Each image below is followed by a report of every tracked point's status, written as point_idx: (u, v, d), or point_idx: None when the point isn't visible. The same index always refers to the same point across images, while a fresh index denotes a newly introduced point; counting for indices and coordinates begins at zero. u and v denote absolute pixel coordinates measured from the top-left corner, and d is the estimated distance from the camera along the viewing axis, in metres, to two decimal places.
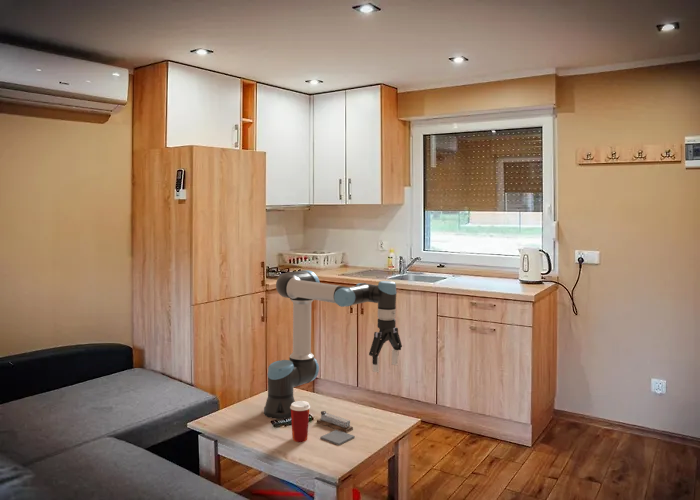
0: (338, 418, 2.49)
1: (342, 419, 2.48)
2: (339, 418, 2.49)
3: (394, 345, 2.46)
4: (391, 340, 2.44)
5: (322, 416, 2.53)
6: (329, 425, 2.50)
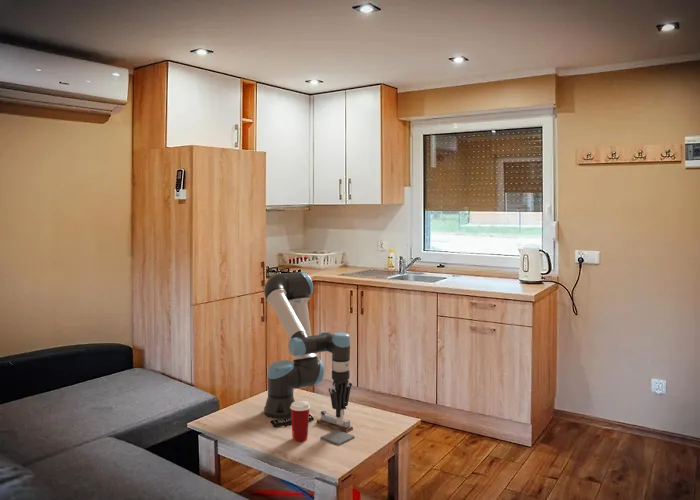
0: None
1: None
2: None
3: (342, 401, 2.46)
4: None
5: (322, 416, 2.53)
6: (329, 425, 2.50)
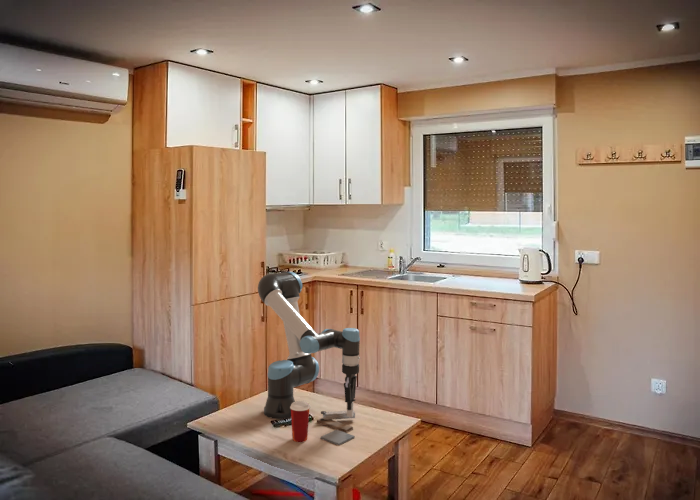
0: (343, 412, 2.57)
1: None
2: (343, 411, 2.57)
3: None
4: None
5: (325, 416, 2.54)
6: (329, 425, 2.50)
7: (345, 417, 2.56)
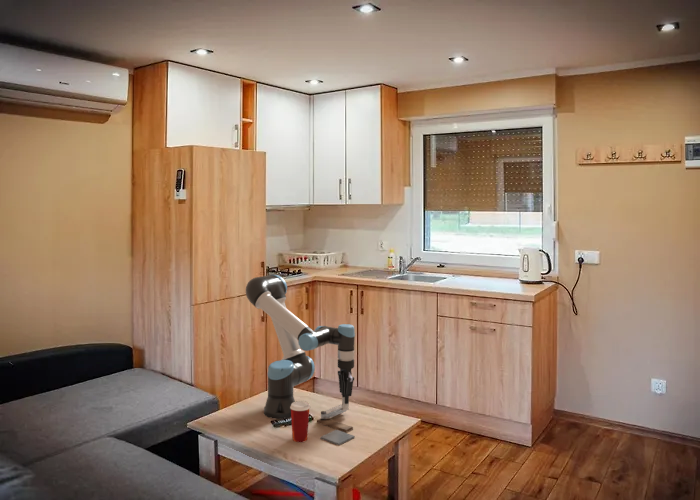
0: (337, 408, 2.62)
1: (339, 406, 2.63)
2: (337, 407, 2.62)
3: None
4: None
5: (327, 415, 2.55)
6: (329, 425, 2.50)
7: (340, 412, 2.62)
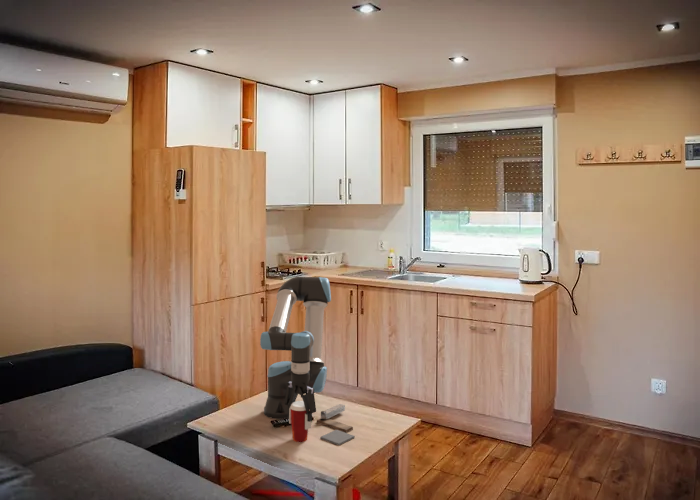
0: (335, 407, 2.62)
1: (338, 406, 2.64)
2: (335, 407, 2.63)
3: None
4: None
5: (327, 415, 2.55)
6: (329, 425, 2.50)
7: (339, 412, 2.62)
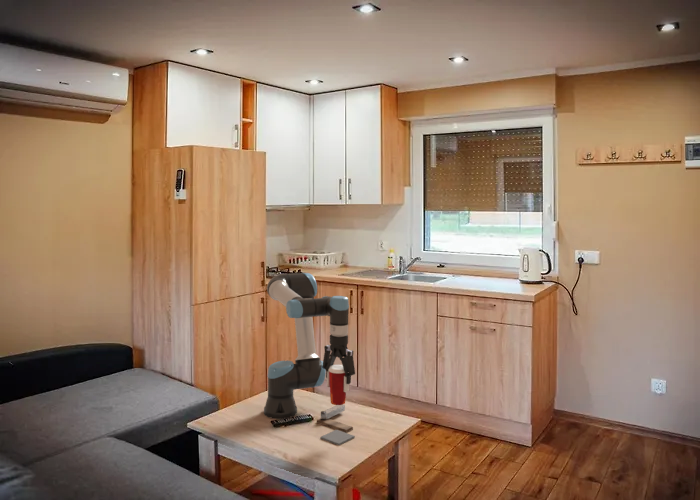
0: (335, 407, 2.62)
1: (338, 406, 2.64)
2: (335, 407, 2.63)
3: None
4: None
5: (327, 415, 2.55)
6: (329, 425, 2.50)
7: (339, 412, 2.62)
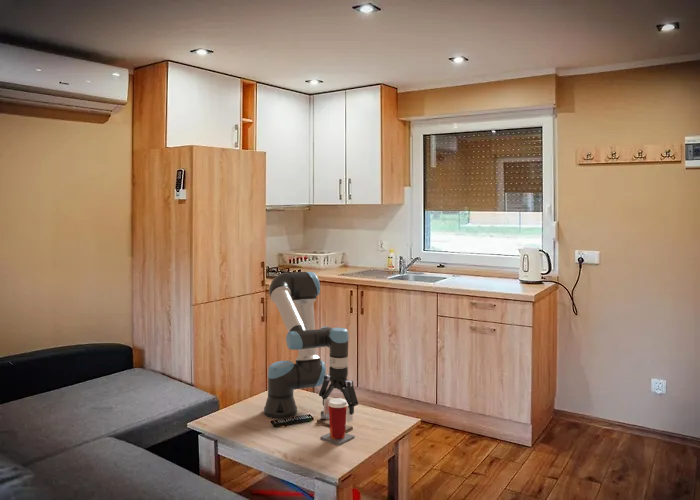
0: None
1: None
2: None
3: None
4: None
5: (327, 415, 2.55)
6: (329, 425, 2.50)
7: None
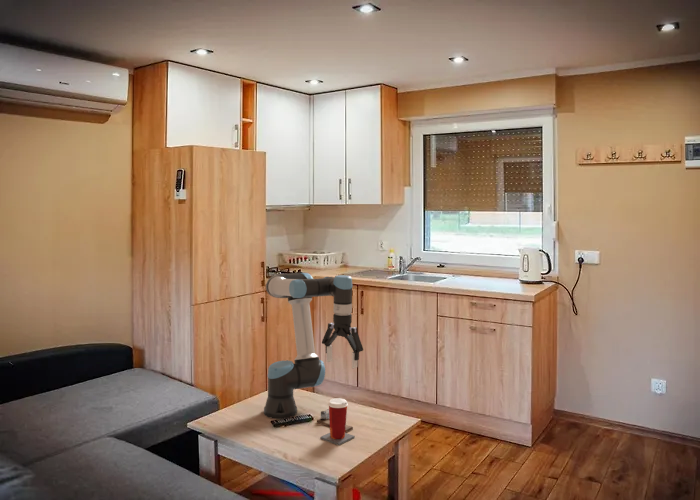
0: None
1: None
2: None
3: None
4: None
5: (327, 415, 2.55)
6: (329, 425, 2.50)
7: None
